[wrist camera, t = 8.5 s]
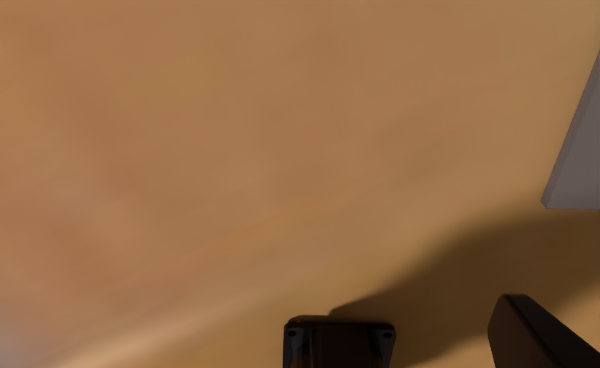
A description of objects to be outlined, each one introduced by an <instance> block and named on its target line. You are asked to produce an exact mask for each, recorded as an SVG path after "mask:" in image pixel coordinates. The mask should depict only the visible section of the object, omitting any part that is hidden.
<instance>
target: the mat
mask: <svg viewBox="0 0 600 368" xmlns="http://www.w3.org/2000/svg"><path fill="white" fill-rule="evenodd" d="M541 202H542V203H543V205H544V206H545V207H546V208H549V209H584V210H600V52H599V54H598V57H597V59H596V62H595V64H594V67H593V69H592V72H591V74H590V77H589V80H588V82H587V85H586V87H585V90H584V92H583V95H582V97H581V100H580V102H579V105H578V108H577V110H576V113H575V115H574V118H573V120H572V123H571V125H570V128H569V130H568V133H567V136H566V138H565V141H564V143H563V146H562V148H561V151H560V153H559V156H558V158H557V161H556V164H555V166H554V169H553V171H552V174H551V176H550V179H549V181H548V184H547V186H546V189H545V191H544V194H543V197H542V199H541Z"/></svg>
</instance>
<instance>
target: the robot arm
mask: <svg viewBox="0 0 600 368" xmlns="http://www.w3.org/2000/svg"><path fill="white" fill-rule="evenodd" d="M395 338H396V332H395V328H394V326H392V325H390V324H361V323H312V322H289V323H287V324H286V325H285V326H284V340H283V368H389V364H390V360H391V355H392V351H393V347H394V342H395ZM488 339H489V343H490V347H491V351H492V355H493V359H494V363H495V367H496V368H600V353H599V352H598V351H597V350H596V349H594V348H593V347H592V346H591V345H589V344H588V343H587V342H586V341H584V340H583V339H582V338H581V337H579V336H578V335H577V334H576V333H574V332H573V331H572V330H571V329H569V328H568V327H567V326H565V325H564V324H563V323H562V322H560V321H559V320H558V319H557V318H555V317H554V316H553V315H552V314H550V313H549V312H548V311H547V310H545V309H544V308H543V307H542V306H540V305H539V304H538V303H537V302H535V301H534V300H533V299H532V298H530V297H529V296H527V295H525V294H517V293H504V294H502V295H500V296H499V298H498V300H497V303H496V305H495V308H494V310H493V313H492V315H491V318H490V321H489V324H488Z"/></svg>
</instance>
